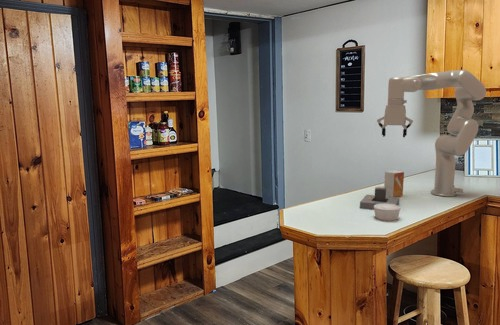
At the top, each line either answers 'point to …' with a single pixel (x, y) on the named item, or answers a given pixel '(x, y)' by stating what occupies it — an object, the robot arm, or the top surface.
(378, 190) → the plug
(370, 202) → the socket block
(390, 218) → the ramekin
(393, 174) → the small box
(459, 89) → the robot arm
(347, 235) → the top surface
